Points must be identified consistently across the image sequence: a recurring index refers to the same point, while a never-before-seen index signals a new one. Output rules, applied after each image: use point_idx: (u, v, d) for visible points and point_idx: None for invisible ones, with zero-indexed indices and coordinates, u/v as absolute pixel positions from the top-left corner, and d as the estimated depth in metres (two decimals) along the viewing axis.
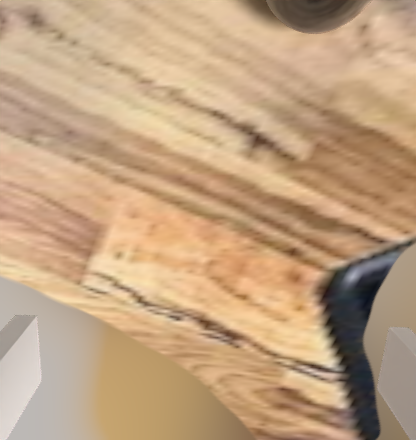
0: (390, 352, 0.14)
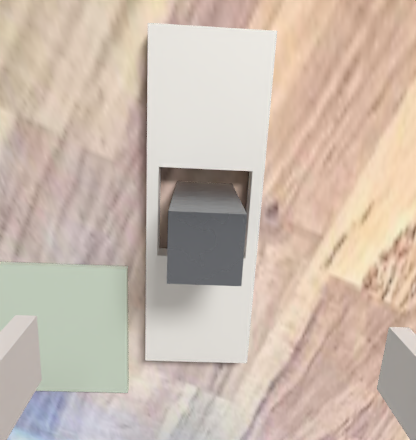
0: (390, 352, 0.14)
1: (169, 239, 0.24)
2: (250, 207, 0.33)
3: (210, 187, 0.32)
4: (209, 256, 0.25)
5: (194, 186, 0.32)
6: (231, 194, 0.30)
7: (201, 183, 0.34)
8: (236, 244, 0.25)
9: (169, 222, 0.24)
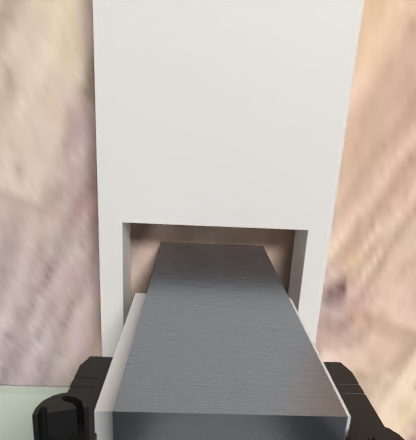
0: None
1: None
2: (301, 296, 0.17)
3: (225, 262, 0.16)
4: None
5: (193, 260, 0.16)
6: (272, 290, 0.14)
7: (206, 248, 0.18)
8: None
9: None
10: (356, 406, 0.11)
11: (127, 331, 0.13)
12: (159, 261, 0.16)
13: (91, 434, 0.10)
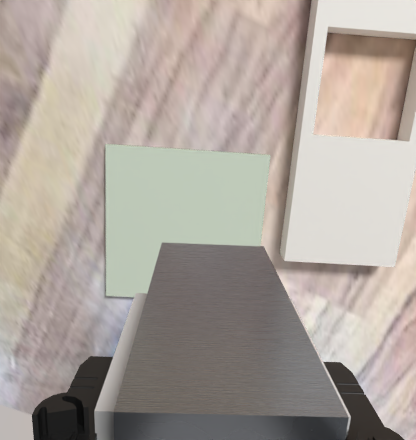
0: None
1: None
2: None
3: (225, 262, 0.16)
4: None
5: (194, 260, 0.16)
6: (273, 290, 0.14)
7: (207, 248, 0.18)
8: None
9: None
10: (356, 406, 0.11)
11: (127, 331, 0.13)
12: (160, 261, 0.16)
13: (91, 434, 0.10)
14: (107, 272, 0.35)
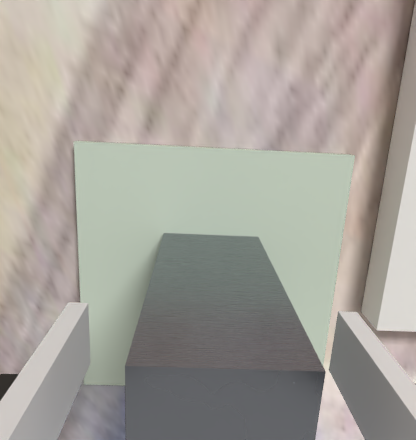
0: (339, 335, 0.15)
1: (130, 428, 0.10)
2: None
3: (222, 250, 0.18)
4: None
5: (193, 248, 0.18)
6: (265, 273, 0.15)
7: (206, 238, 0.19)
8: (296, 436, 0.10)
9: (128, 391, 0.10)
10: None
11: (44, 346, 0.12)
12: (162, 249, 0.18)
13: None
14: None
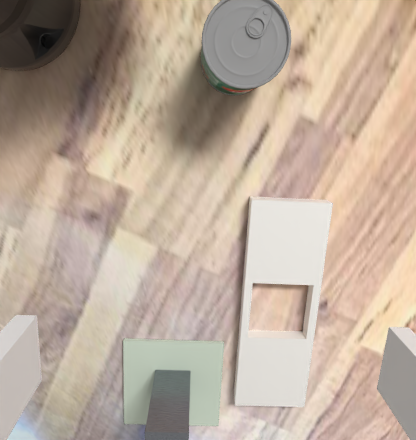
0: (391, 352, 0.14)
1: None
2: (311, 307, 0.50)
3: (175, 381, 0.52)
4: None
5: (165, 380, 0.52)
6: (186, 394, 0.49)
7: (170, 373, 0.53)
8: None
9: (145, 437, 0.43)
10: None
11: None
12: (154, 381, 0.51)
13: None
14: (125, 410, 0.56)
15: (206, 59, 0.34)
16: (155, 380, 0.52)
